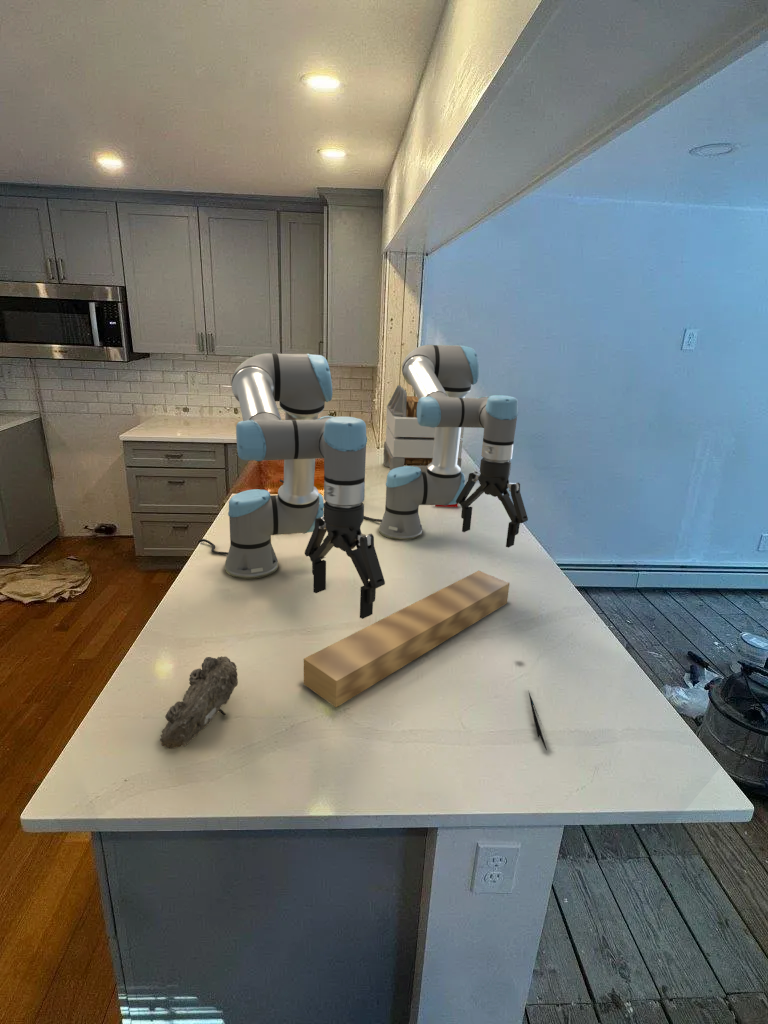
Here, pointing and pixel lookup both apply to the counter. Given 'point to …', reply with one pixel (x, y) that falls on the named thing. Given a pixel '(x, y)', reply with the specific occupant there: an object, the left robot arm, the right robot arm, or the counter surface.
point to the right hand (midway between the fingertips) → (487, 538)
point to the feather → (536, 721)
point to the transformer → (408, 434)
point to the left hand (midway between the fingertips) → (342, 603)
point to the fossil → (200, 701)
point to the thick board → (401, 637)
